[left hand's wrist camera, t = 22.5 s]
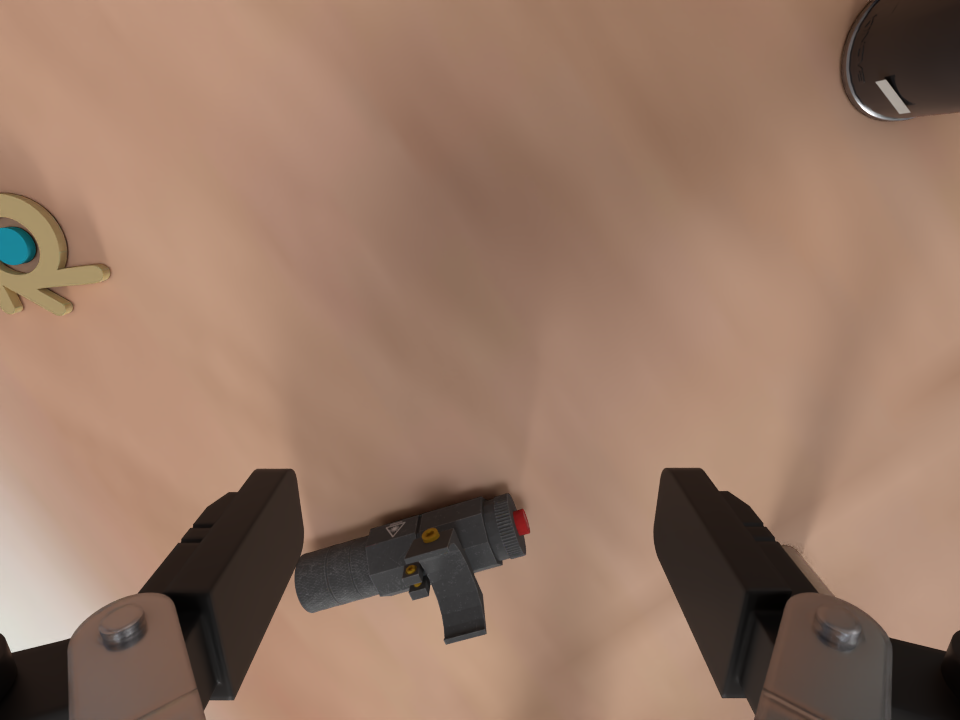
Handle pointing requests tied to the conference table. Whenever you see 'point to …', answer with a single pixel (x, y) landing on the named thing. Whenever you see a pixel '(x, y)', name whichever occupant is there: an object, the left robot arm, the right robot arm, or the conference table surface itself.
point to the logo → (50, 271)
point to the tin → (807, 571)
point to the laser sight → (420, 561)
